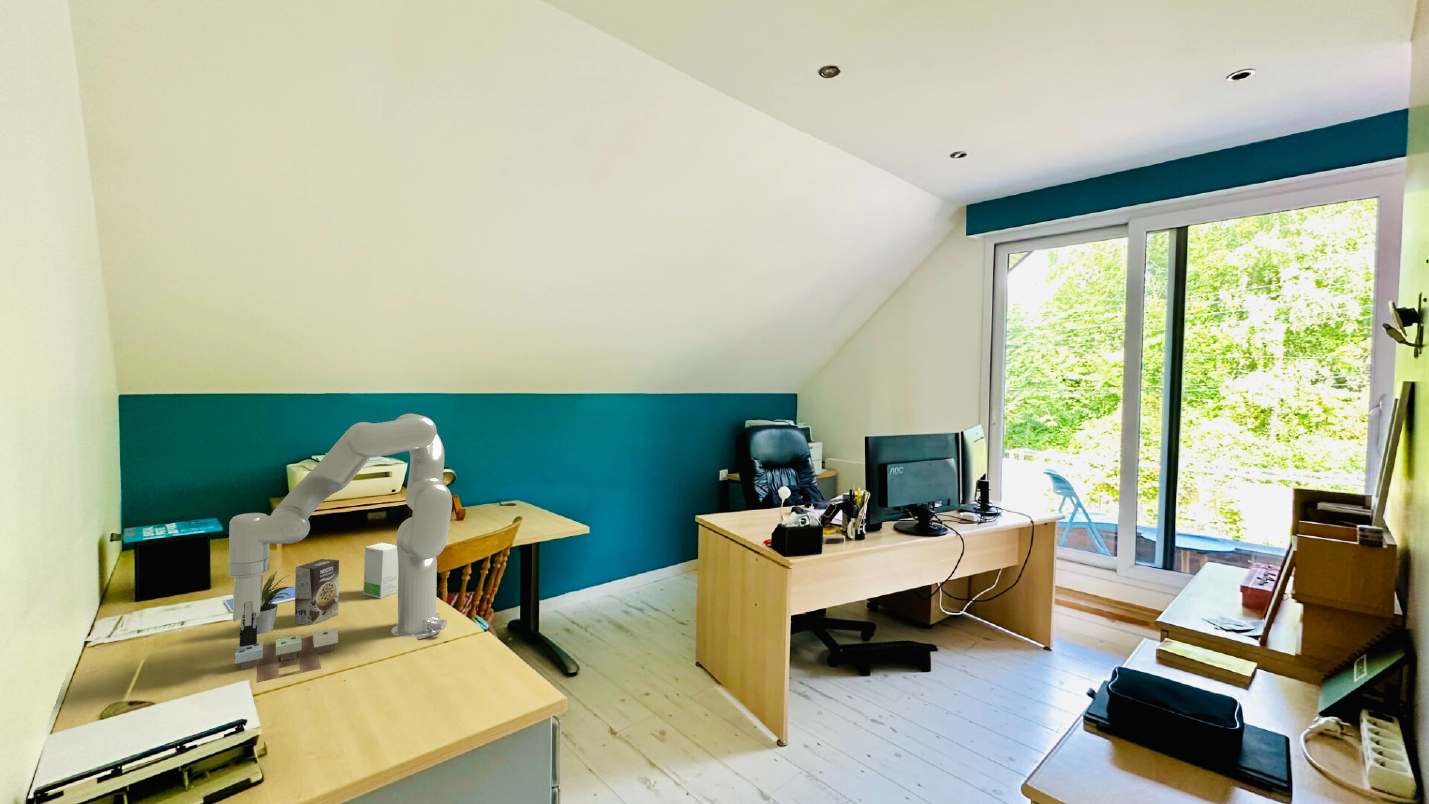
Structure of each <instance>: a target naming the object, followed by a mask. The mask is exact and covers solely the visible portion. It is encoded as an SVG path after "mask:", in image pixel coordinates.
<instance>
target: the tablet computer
mask: <svg viewBox="0 0 1429 804" xmlns="http://www.w3.org/2000/svg"><path fill="white" fill-rule="evenodd" d="M291 587H292V588H287V589H284V590H281V591H280V592H278V593H277V594H280V593H288V594H289V595H290V596H289V595H284V594H281V595H277V594H276V595H277V596H284V598H285V599H284V598H276V599H275V600H274V599H273V600H274V601H273V600H272V601H273V602H272V603H274V604H277V605H278V604H281V603H288V602H292V601H295V586H291ZM276 595H275V596H276ZM277 596H276V597H277ZM270 602H271V601H270ZM223 603H224V605H225V606H226V608H227V610H228V609H229V610H228V611H229V613H230V612H231V613H230V614H233V598H231V599H226V600H224V602H223Z"/></svg>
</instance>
